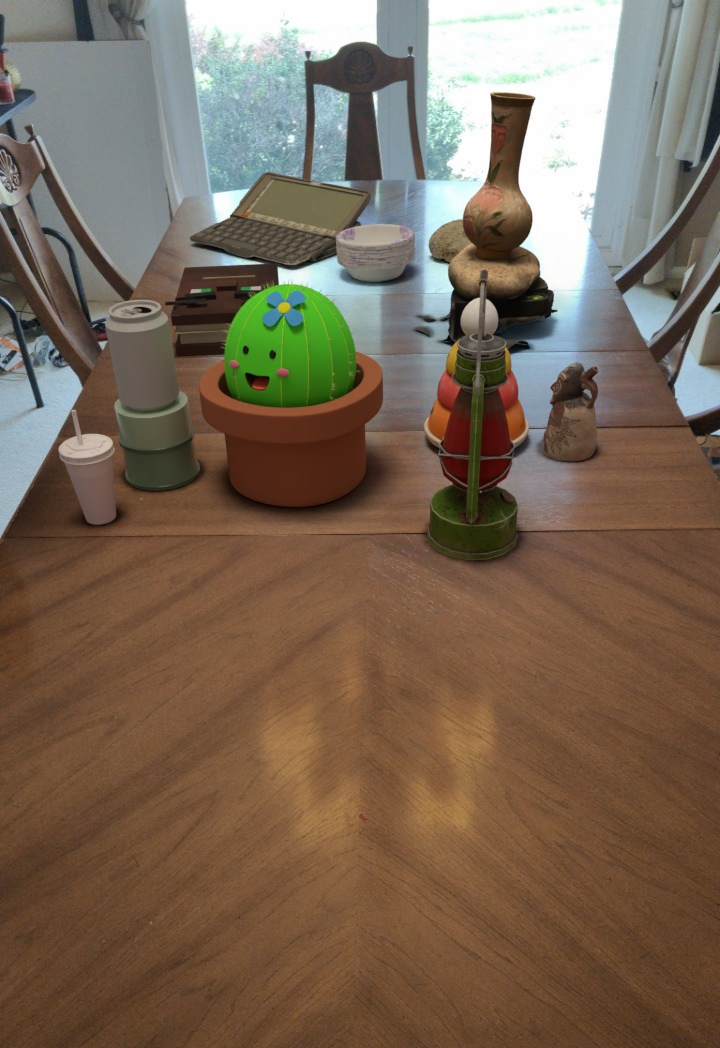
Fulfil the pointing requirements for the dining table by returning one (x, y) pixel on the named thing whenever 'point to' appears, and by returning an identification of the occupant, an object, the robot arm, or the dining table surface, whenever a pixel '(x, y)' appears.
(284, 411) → the potted cactus
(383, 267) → the paper bowls
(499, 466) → the lantern
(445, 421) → the stacking toy
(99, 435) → the smoothie
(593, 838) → the dining table surface
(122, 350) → the can
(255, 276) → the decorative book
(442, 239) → the decorative item
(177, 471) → the cup stack
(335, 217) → the laptop
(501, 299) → the vase
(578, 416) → the figurine
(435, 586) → the dining table surface
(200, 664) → the dining table surface
